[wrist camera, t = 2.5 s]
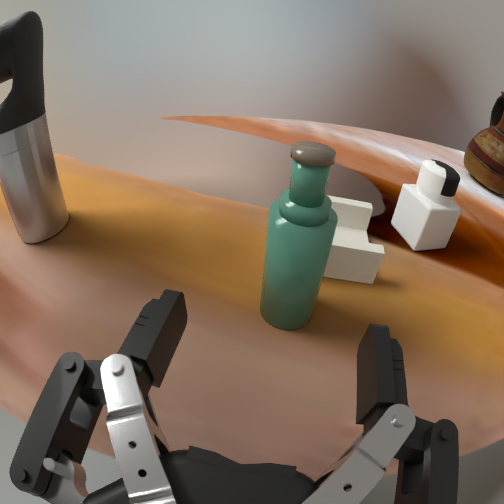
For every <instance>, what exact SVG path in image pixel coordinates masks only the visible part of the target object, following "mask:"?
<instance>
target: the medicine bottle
mask: <svg viewBox="0 0 504 504" xmlns="http://www.w3.org/2000/svg"><path fill="white" fill-rule="evenodd" d="M459 182H460V176H459V174H458V173H457V172H456V171H455V170H454V169H453V168H452V167H450V166H449V165H447V164H445V163H443V162H440V161H437V160H425V161H423V163H422V166H421V170H420V173H419V176H418V180H417V185H415V184H403V186H402V190H401V193H400V196H399V200H398V203H397V206H396V209H395V212H394V215H393V218H392V221H391V224H392V225H393V226H394V228H395V229H396V230H397V231H398V232H399V233H400V235H401V236H402V237H403V238H404V239H405V241H406V242H407V243H408V244H409V246H410V247H411V248H412V249H413V250H414V251H419V250H429V249H439V248H445V247H446V245H447V243H448V241H449V238H450V236H451V234H452V232H453V230H454V227H455V225H456V223H457V220H458V218H459V215H460V213H461V208H459V207H458V206H457V205H456V204H455V203H454V202H453V201H452V200H453V198H454V196H455V193H456V190H457V187H458V184H459Z"/></svg>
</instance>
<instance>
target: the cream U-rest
mask: <svg viewBox="0 0 504 504" xmlns="http://www.w3.org/2000/svg"><path fill="white" fill-rule="evenodd" d="M328 197H329V198H330V199H331V201H332V206H331V208H332V209H333V210H334V211H335V212H336V214H337V216H338V222H337V226H336V230H335V234H334V238H333V242H332V246H331V250H330V254H329V257H328V261H327V265H326V268H325V272H324V276H323V277H328V278H335V279H341V280H348V281H354V282H361V283H368V284H373V282H374V279H375V277H376V275H377V272H378V270H379V267H380V265H381V262H382V260H383V257H384V255H385V252H384V248H383V245H378V244H372V243H369V241H368V236H367V231H366V230H367V227H368V224H369V220H370V217H371V213H372V210H373V208H372V204H371V203H366V202H361V201H355V200H350V199H345V198H339V197H333V196H328Z"/></svg>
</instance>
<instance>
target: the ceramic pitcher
mask: <svg viewBox="0 0 504 504" xmlns="http://www.w3.org/2000/svg"><path fill="white" fill-rule="evenodd" d="M501 93H502V95H501V96H500V97H499V98H498V99H497V101H496V103H495V105H494V107H493V110H492V113H491V120H490V127H489V128H486V129H484V130H482V131H481V132H479V133H478V134H477V135H476V136H475V137H474V138H473V139H472V140H471V142H470V143H469V145H468V147H467V149H466V152H465V156H464V165H465V168H466V169H467V170H468V171H469V173H470V174H471V175H472V176H473V177H474V178H475V179H476V180H477V181H478V182H480V183H481V184H483V185H484V186H485V187H487V188H488V189H490V190H492V191H494V192H496V193H498V194H501V195H504V92H501Z"/></svg>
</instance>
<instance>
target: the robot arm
mask: <svg viewBox="0 0 504 504" xmlns="http://www.w3.org/2000/svg"><path fill="white" fill-rule="evenodd" d="M12 78H13V84H12V89H11V92H10V93H9V95H8V96H7V98H6V99H5V100H4V102H2V104H1V105H0V181H1V182H0V185H1V188H2V191H3V194H4V197H5V200H6V203H7V206H8V209H9V212H10V214H11V217H12V220H13V222H14V225H15V227H16V230H17V232H18V234H20V237H21V239H22V240H23V241H24V242H26V243H37V242H41V241H44V240H46V239H48V238H50V237H52V236H54V235H55V234H57V233H58V232H59V231H61V230H62V229H63V228H64V227H65V225H66V224H67V222H68V220H69V213H68V210H67V207H66V203H65V200H64V196H63V192H62V189H61V185H60V181H59V177H58V173H57V169H56V165H55V160H54V156H53V151H52V146H51V142H50V136H49V131H48V125H47V119H46V113H45V105H44V80H43V28H42V23H41V20H40V17H39V16H38V14H37V13H35V12H33V11H29V12H25V13H22V14H19V15H17V16H15V17H12V18H10V19H8V20H5V21H3V22H1V23H0V83H2V82H5V81H7V80H9V79H12ZM186 324H187V310H186V305H185V299H184V294H183V293H182V292H178V291H173V290H168V289H166V290H165V291H164V292H163V294H162V295H161V297H160V299H159V300H158V299H152V300H151V301H150V302H148V303H147V304H146V305H145V306H144V307H143V309H142V311H141V312H140V314H139V317H138V318H137V319H136V321H135V324H134V325H133V326H132V328H131V330H130V332H129V333H128V335H127V337H126V339H125V341H124V342H123V344H122V346H121V348H120V350H119V351H118V352H117V354H114V355H111V356H109V357H107V358H106V359H105V360H102V361H98V360H84V359H83V358H82V356H81V355H80V354H78V353H76V352H69V353H66V354H64V355H63V356H61V357H60V359H59V360H58V362H57V364H56V366H55V367H54V369H53V371H52V373H51V375H50V377H49V379H48V381H47V383H46V385H45V387H44V389H43V391H42V393H41V395H40V397H39V399H38V401H37V403H36V406H35V408H34V410H33V412H32V414H31V417H30V419H29V421H28V423H27V426H26V428H25V430H24V433H23V435H22V438H21V440H20V443H19V445H18V448H17V450H16V453H15V456H14V458H13V461H12V464H11V467H10V477H11V480H12V482H13V484H14V485H15V486H16V487H17V488H18V489H20V490H21V491H24V492H27V493H30V494H32V495H34V496H37V497H40V498H43V499H45V500H46V501H48V502H50V503H51V504H359V503H360V502H361V501H362V500H363V499H364V498H365V497H366V495H367V494H368V493H369V492H370V491H371V490H372V489H373V487H374V486H375V485H376V484H377V483H378V482H379V480H380V479H381V478H382V477H383V475H384V474H385V472H386V469H385V468H386V466H387V465H388V463H389V462H390V461H391V460H392V458H396V459H399V467H398V478H397V486H396V494H395V501H394V504H456V503H457V490H458V466H459V462H458V461H459V446H458V430H457V427H456V426H455V424H454V423H453V422H452V421H450V420H447V419H442V420H439V421H438V422H436V423H433V422H430V421H426V420H424V419H421V418H418V417H417V416H415V415H414V412H413V411H412V410H411V409H410V408H409V406H408V401H407V389H406V378H405V371H404V362H403V353H402V348H401V346H400V345H399V343H398V341H397V339H390V335H389V328H388V326H386V325H377V324H370V325H369V327H368V329H367V331H366V333H365V335H364V337H363V339H362V340H361V342H360V344H359V347H358V352H357V413H356V424H364V431H363V432H362V433H361V435H360V436H359V437H358V438H357V439H356V440H355V441H354V442H353V444H352V445H351V446H350V447H349V448H348V449H347V450H346V451H345V452H344V453H343V454H342V455H341V456H340V458H339V459H338V460H337V461H336V462H335V463H333V464H332V465H331V466H330V467H329V468H328V469H327V470H326V471H324V472H323V473H322V474H321V475H320V476H319V477H318V478H317V479H316V480H315V481H313V480H312V479H311V478H309V477H308V476H306V475H305V474H303V473H301V472H298V471H296V467H297V466H289V465H281V464H274V463H263V464H239V463H236V462H234V461H232V460H230V459H228V458H226V457H224V456H222V455H220V454H218V453H216V452H212V451H208V450H204V449H201V448H197V447H193V446H189V450H176V451H171V450H170V448H169V445H168V443H167V441H166V438H165V436H164V434H163V432H162V430H161V428H160V425H159V422H158V420H157V417H156V414H155V411H154V408H153V405H152V402H151V399H150V395H149V390H150V388H151V386H155V387H158V388H160V385H161V383H162V381H163V378H164V376H165V373H166V371H167V369H168V366H169V364H170V362H171V360H172V357H173V355H174V353H175V350H176V348H177V346H178V343H179V341H180V339H181V337H182V334H183V332H184V330H185V327H186ZM104 404H107V407H108V412H109V415H108V416H107V418H106V421H107V426H108V430H109V434H110V438H111V442H112V446H113V449H114V453H115V456H116V459H117V463H118V466H119V468H120V472H121V475H122V478H120V479H119V480H117V481H115V482H113V483H111V484H109V485H107V486H105V487H103V488H101V489H99V490H97V491H95V492H93V493H91V494H88V492H87V490H86V486H85V482H86V473H85V470H84V468H83V467H82V466H81V462H82V460H83V457H84V454H85V451H86V449H87V446H88V443H89V441H90V438H91V435H92V433H93V430H94V427H95V425H96V422H97V420H98V417H99V415H100V412H101V410H102V407H103V405H104Z"/></svg>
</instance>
